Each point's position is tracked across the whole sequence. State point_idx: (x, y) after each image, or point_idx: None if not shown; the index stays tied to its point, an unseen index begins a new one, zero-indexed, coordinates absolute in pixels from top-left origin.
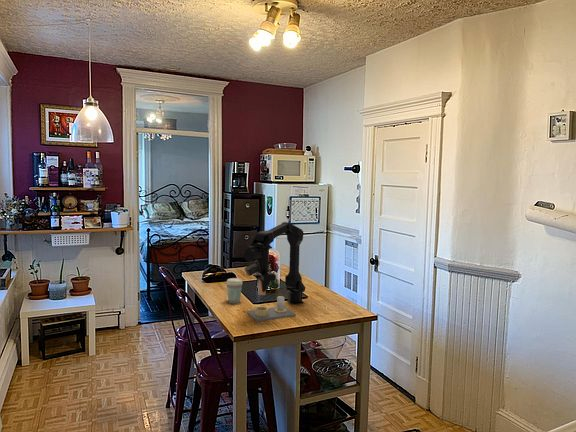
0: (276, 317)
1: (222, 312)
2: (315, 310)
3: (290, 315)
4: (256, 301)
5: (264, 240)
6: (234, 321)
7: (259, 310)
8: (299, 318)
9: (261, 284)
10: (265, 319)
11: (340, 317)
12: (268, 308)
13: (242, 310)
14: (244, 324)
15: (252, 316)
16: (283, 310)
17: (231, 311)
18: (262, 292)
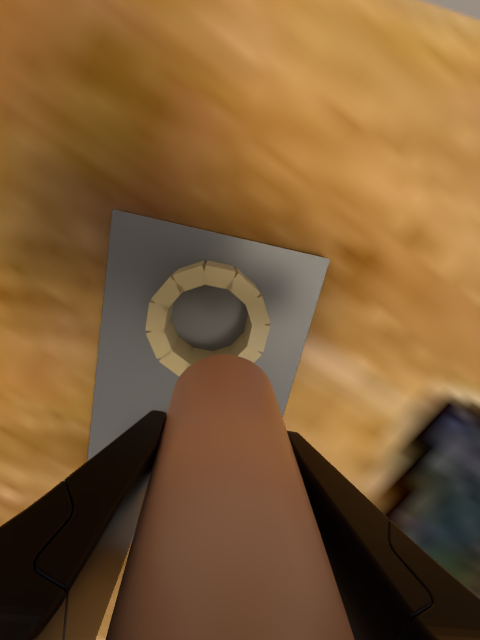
0: (98, 363)
1: (465, 90)
2: None
3: (89, 454)
4: (461, 436)
5: None
6: (219, 41)
7: (177, 284)
8: (38, 472)
9: (153, 513)
10: (108, 279)
11: None
12: (180, 374)
13: (389, 261)
14: (109, 74)
15: (214, 232)
16: None
17: (430, 174)
18: (169, 406)
